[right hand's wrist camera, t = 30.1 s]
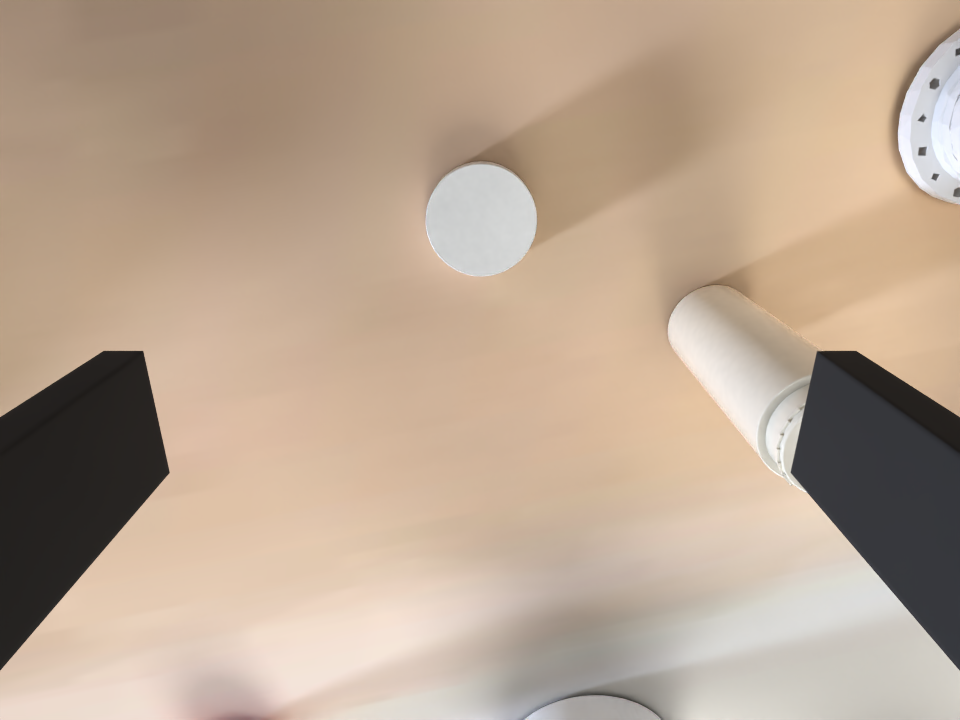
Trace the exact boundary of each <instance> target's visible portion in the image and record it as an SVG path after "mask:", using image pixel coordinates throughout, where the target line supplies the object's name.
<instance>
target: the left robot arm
mask: <svg viewBox="0 0 960 720" xmlns="http://www.w3.org/2000/svg"><path fill="white" fill-rule="evenodd" d="M524 720H661V718H660V717H659V716H657V715H656V714H655V713H654V712H652V711H651V710H649V709H648V708H646V707H644V706H642V705H640V704H638V703H636V702H633V701H630V700H627V699H623V698H618V697H613V696H602V695H588V696H578V697H572V698H567V699H563V700H560V701H557V702H554V703H551V704H549V705H547V706H544V707H542V708H540V709H539V710H537V711H535V712H534V713H532V714H531V715H529V716H528V717H527V718H526V719H524Z"/></svg>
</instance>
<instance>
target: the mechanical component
mask: <svg viewBox="0 0 960 720" xmlns="http://www.w3.org/2000/svg"><path fill="white" fill-rule="evenodd" d="M898 144H899V151H900V154H901V157H902V160H903V163H904V166H905V169H906V172H907V173H908V174H909V176H910V177H911V178H912V179H913V181H914V182H915V183H916V184H917V185H918V187H919V188H920V189H922V190H923V191H925V192H926V193H928V194H929V195H931V196H932V197H935V198H937V199H940V200H943V201H946V202H949V203H954V204H958V205H960V29H959V30H958V31H956V32H955V33H954V34H953V35H951V36H950V37H949V38H947V39H946V40H945V41H944V42H942V43H941V44H940V45H939V46H938V47H937V48H936V50H935V51H934V52H933V53H932V54H931V55H930V57H929V58H928V59H927V60H926V61H925V62H924V63H923V65H922V66H921V67H920V69H919V71H918V73H917V75H916V77H915V78H914V80H913V82H912V84H911V86H910V88H909V89H908V91H907V94H906V97H905V100H904V103H903V106H902V110H901V113H900V119H899V127H898Z"/></svg>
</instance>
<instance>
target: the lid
mask: <svg viewBox="0 0 960 720" xmlns="http://www.w3.org/2000/svg"><path fill="white" fill-rule="evenodd" d="M536 228H537V212H536V207H535V203H534V200H533V197H532V195H531V193H530V191H529V190H528V188H527V187H526V185H525V184H524V182H523V181H522V180H521V179H520V178H519V176H517V175H516V174H515V173H514V172H513V171H511V170H510V169H508V168H506V167H504V166H502V165H500V164H496V163H493V162H487V161H477V162H470V163H466V164H463V165H461V166H458V167H457V168H455V169H453V170H452V171H450V172H449V173H448V174H446V175H445V176H444V177H443V178H442V179H441V181H440V182H439V183H438V185H437V186H436V188H435V190H434V192H433V193H432V195H431V198H430V200H429V203H428V206H427V211H426V229H427V234H428V237H429V240H430V243H431V245H432V247H433V248H434V250H435V252H436V253H437V254H438V256H439V257H440V258H441V259H442V260H443V261H444V262H445V263H446V264H447V265H449V266H450V267H452V268H453V269H455V270H457V271H459V272H461V273H464V274H468V275H473V276H491V275H495V274H499V273H501V272H504V271H506V270H508V269H510V268H511V267H513V266H514V265H516V264H517V263H518V262H519V261H520V260H521V259H522V258H523V257H524V256H525V254H526V253H527V251H528V250H529V248H530V246H531V244H532V242H533V240H534V237H535V233H536Z"/></svg>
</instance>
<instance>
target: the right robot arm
mask: <svg viewBox="0 0 960 720" xmlns="http://www.w3.org/2000/svg"><path fill="white" fill-rule="evenodd" d="M169 473H170V472H169V468H168V463H167V458H166V454H165V449H164V445H163V440H162V436H161V431H160V426H159V422H158V417H157V413H156V408H155V403H154V399H153V394H152V390H151V385H150V380H149V376H148V371H147V367H146V362H145V357H144V353H143V351H103V352H101V353H100V354H98V355H97V356H95V357H94V358H92V359H91V360H89V361H87V362H86V363H84V364H83V365H81V366H80V367H78V368H76V369H75V370H73V371H72V372H70V373H69V374H67V375H66V376H64V377H62V378H61V379H59V380H58V381H56V382H55V383H53V384H51V385H50V386H48V387H47V388H45V389H44V390H42V391H41V392H39V393H37V394H36V395H34V396H33V397H31V398H30V399H28V400H26V401H25V402H23V403H22V404H20V405H19V406H17V407H16V408H14V409H12V410H11V411H9V412H8V413H6V414H5V415H3V416H1V417H0V670H1V669H2V668H3V667H4V665H5V664H6V663H7V662H8V661H9V660H10V658H11V657H12V656H13V655H14V654H15V653H16V651H17V650H18V649H19V648H20V647H21V646H22V644H23V643H24V642H25V641H26V640H27V639H28V637H29V636H30V635H31V634H32V633H33V632H34V630H35V629H36V628H37V627H38V626H39V625H40V623H41V622H42V621H43V620H44V619H45V618H46V616H47V615H48V614H49V613H50V612H51V611H52V609H53V608H54V607H55V606H56V605H57V604H58V602H59V601H60V600H61V599H62V598H63V597H64V595H65V594H66V593H67V592H68V591H69V590H70V588H71V587H72V586H73V585H74V584H75V583H76V581H77V580H78V579H79V578H80V577H81V576H82V574H83V573H84V572H85V571H86V570H87V569H88V567H89V566H90V565H91V564H92V563H93V562H94V560H95V559H96V558H97V557H98V556H99V555H100V553H101V552H102V551H103V550H104V549H105V548H106V546H107V545H108V544H109V543H110V542H111V541H112V539H113V538H114V537H115V536H116V535H117V534H118V532H119V531H120V530H121V529H122V528H123V527H124V525H125V524H126V523H127V522H128V521H129V520H130V518H131V517H132V516H133V515H134V514H135V512H136V511H137V510H138V509H139V508H140V507H141V505H142V504H143V503H144V502H145V501H146V500H147V498H148V497H149V496H150V495H151V494H152V493H153V491H154V490H155V489H156V488H157V487H158V486H159V484H160V483H161V482H162V481H163V480H164V479H165V477H166V476H167V475H168V474H169ZM790 473H791V474H792V475H793V476H794V477H795V479H796V480H797V481H798V482H799V483H800V484H801V486H802V487H803V488H804V489H805V490H806V491H807V493H808V494H809V495H810V496H811V497H812V498H813V500H814V501H815V502H816V503H817V504H818V505H819V507H820V508H821V509H822V510H823V511H824V512H825V514H826V515H827V516H828V517H829V518H830V520H831V521H832V522H833V523H834V524H835V525H836V527H837V528H838V529H839V530H840V531H841V532H842V534H843V535H844V536H845V537H846V538H847V539H848V541H849V542H850V543H851V544H852V545H853V546H854V548H855V549H856V550H857V551H858V552H859V553H860V555H861V556H862V557H863V558H864V559H865V560H866V562H867V563H868V564H869V565H870V566H871V567H872V569H873V570H874V571H875V572H876V573H877V574H878V576H879V577H880V578H881V579H882V580H883V581H884V583H885V584H886V585H887V586H888V587H889V588H890V590H891V591H892V592H893V593H894V594H895V595H896V597H897V598H898V599H899V600H900V601H901V602H902V604H903V605H904V606H905V607H906V608H907V609H908V611H909V612H910V613H911V614H912V615H913V616H914V618H915V619H916V620H917V621H918V622H919V623H920V625H921V626H922V627H923V628H924V629H925V630H926V632H927V633H928V634H929V635H930V636H931V637H932V639H933V640H934V641H935V642H936V643H937V644H938V646H939V647H940V648H941V649H942V650H943V651H944V653H945V654H946V655H947V656H948V657H949V658H950V660H951V661H952V662H953V663H954V664H955V665H956V667H957V668H958V669H959V670H960V417H959V416H957V415H955V414H954V413H952V412H951V411H949V410H948V409H946V408H944V407H943V406H941V405H940V404H938V403H937V402H935V401H934V400H932V399H930V398H929V397H927V396H926V395H924V394H923V393H921V392H919V391H918V390H916V389H915V388H913V387H912V386H910V385H909V384H907V383H905V382H904V381H902V380H901V379H899V378H898V377H896V376H894V375H893V374H891V373H890V372H888V371H887V370H885V369H884V368H882V367H880V366H879V365H877V364H876V363H874V362H873V361H871V360H869V359H868V358H866V357H865V356H863V355H862V354H860V353H858V352H857V351H817V353H816V357H815V362H814V367H813V371H812V376H811V380H810V385H809V390H808V394H807V399H806V403H805V408H804V413H803V417H802V422H801V426H800V431H799V436H798V440H797V445H796V449H795V454H794V458H793V463H792V468H791V472H790Z"/></svg>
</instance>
